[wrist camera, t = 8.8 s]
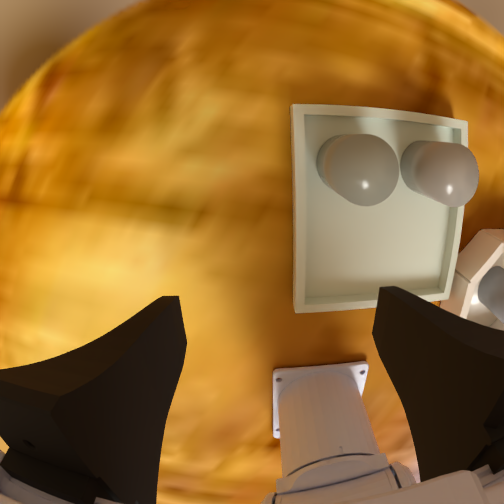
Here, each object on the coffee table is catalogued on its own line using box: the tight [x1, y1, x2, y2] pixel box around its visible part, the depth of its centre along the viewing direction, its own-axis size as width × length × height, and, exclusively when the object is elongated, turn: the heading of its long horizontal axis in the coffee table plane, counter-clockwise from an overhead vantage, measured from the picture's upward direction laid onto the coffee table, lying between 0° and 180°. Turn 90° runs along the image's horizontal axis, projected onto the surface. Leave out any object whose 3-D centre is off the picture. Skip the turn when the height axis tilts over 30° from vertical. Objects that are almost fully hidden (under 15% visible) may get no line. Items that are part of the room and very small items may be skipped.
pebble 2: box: [400, 140, 479, 207], centre depth 16 cm, size 4×4×4 cm
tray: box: [290, 104, 468, 314], centre depth 19 cm, size 13×12×2 cm
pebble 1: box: [316, 134, 399, 206], centre depth 16 cm, size 4×4×4 cm
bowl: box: [440, 229, 504, 331], centre depth 20 cm, size 10×10×3 cm
